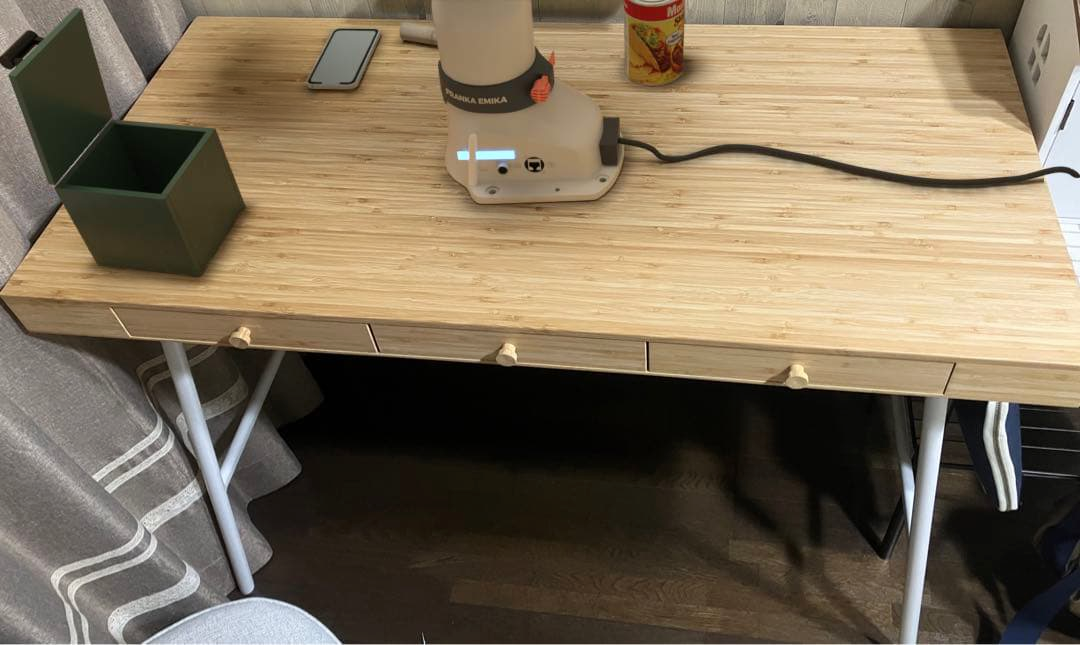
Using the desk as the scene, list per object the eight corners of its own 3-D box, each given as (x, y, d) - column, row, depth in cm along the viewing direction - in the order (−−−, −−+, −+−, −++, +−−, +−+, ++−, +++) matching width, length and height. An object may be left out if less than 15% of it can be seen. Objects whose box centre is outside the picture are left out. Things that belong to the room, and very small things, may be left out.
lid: (81, 8, 107) (40, -1, 108) (15, 76, 99) (-30, 66, 100) (113, 116, 118) (74, 107, 119) (55, 185, 110) (14, 175, 111)
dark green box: (245, 205, 125) (215, 127, 116) (200, 277, 116) (164, 199, 108) (148, 195, 127) (111, 119, 119) (96, 264, 119) (53, 188, 111)
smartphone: (381, 28, 148) (355, 85, 138) (383, 33, 149) (356, 91, 139) (333, 27, 150) (303, 84, 139) (335, 33, 150) (305, 90, 140)
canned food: (685, 83, 134) (688, 2, 126) (626, 88, 135) (625, 6, 126) (680, 51, 140) (682, -30, 131) (623, 55, 140) (621, -25, 131)
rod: (400, 43, 147) (397, 26, 145) (409, 33, 148) (406, 16, 146) (473, 56, 143) (470, 39, 141) (481, 46, 145) (479, 29, 143)
